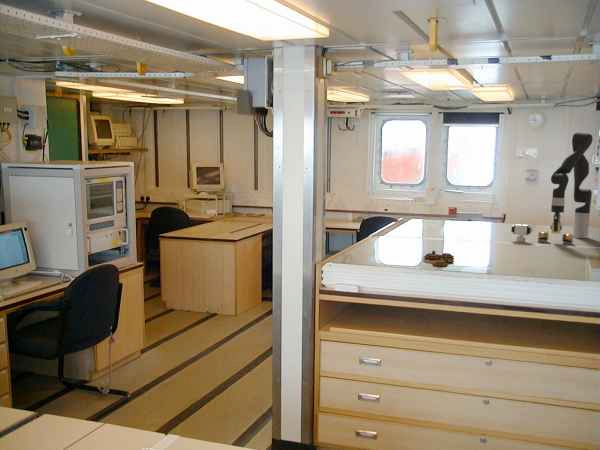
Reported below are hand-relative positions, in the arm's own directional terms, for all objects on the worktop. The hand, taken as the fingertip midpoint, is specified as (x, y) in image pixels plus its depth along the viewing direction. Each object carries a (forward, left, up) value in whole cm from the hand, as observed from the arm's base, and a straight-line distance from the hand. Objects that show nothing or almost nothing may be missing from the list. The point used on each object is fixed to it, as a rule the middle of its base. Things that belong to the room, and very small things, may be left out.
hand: (556, 230), depth 392 cm
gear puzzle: (+104, -46, -9) cm, 114 cm away
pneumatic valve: (+6, -20, -8) cm, 23 cm away
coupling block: (0, 0, -1) cm, 1 cm away
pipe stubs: (0, 0, -8) cm, 8 cm away
